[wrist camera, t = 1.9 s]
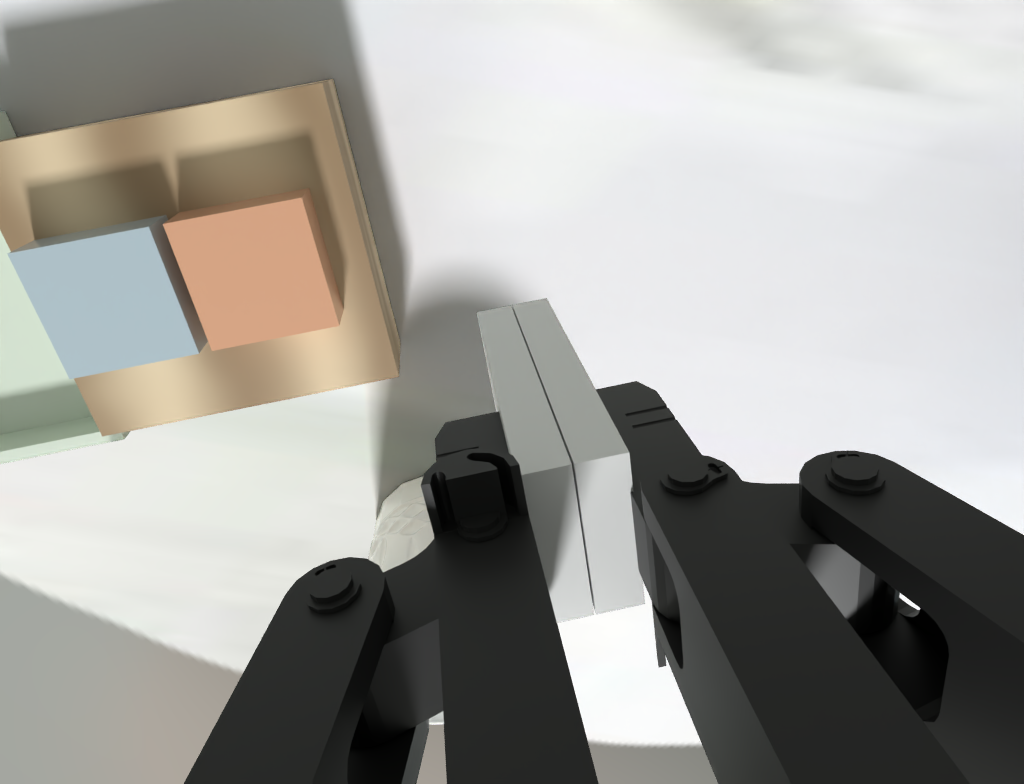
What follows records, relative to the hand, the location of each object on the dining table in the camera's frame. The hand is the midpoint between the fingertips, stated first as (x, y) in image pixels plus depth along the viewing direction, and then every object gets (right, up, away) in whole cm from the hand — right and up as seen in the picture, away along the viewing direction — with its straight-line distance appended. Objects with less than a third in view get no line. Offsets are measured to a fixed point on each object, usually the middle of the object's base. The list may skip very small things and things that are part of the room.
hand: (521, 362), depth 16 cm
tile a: (-10, +4, +12) cm, 17 cm away
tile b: (-15, +3, +12) cm, 20 cm away
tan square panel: (-13, +6, +16) cm, 21 cm away
